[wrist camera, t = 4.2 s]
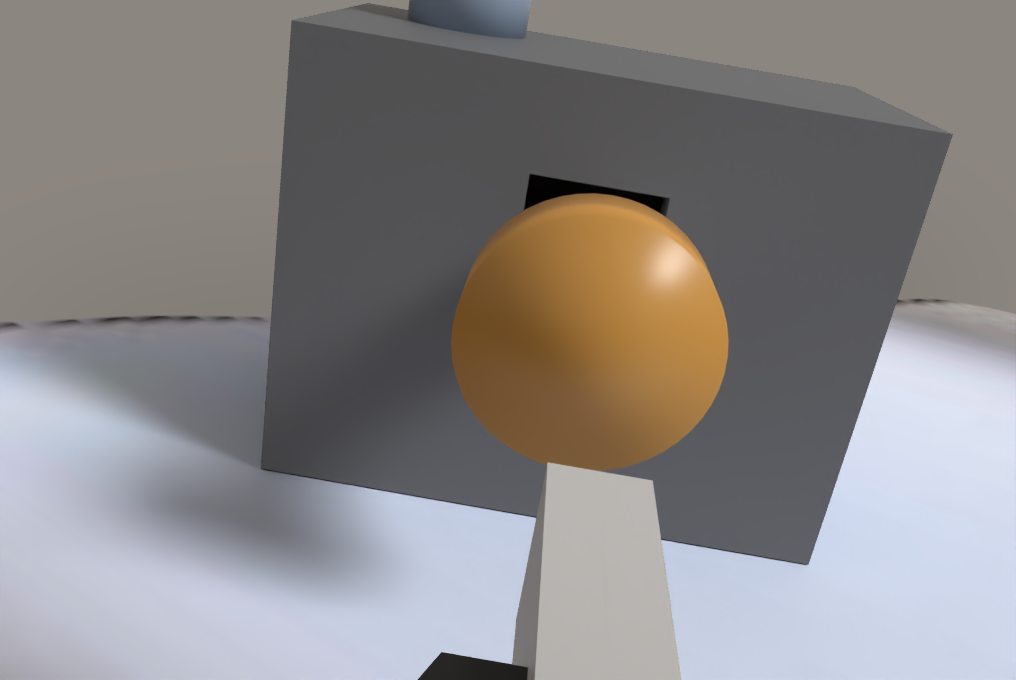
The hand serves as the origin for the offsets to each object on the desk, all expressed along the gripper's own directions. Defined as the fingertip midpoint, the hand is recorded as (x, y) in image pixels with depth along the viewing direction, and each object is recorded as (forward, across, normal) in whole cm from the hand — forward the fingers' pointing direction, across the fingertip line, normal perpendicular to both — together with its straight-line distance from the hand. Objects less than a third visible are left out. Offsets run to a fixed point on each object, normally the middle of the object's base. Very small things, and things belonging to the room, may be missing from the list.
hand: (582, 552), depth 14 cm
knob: (+11, 0, -3) cm, 12 cm away
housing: (+20, 0, -9) cm, 22 cm away
